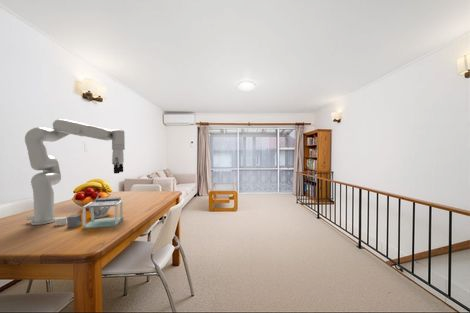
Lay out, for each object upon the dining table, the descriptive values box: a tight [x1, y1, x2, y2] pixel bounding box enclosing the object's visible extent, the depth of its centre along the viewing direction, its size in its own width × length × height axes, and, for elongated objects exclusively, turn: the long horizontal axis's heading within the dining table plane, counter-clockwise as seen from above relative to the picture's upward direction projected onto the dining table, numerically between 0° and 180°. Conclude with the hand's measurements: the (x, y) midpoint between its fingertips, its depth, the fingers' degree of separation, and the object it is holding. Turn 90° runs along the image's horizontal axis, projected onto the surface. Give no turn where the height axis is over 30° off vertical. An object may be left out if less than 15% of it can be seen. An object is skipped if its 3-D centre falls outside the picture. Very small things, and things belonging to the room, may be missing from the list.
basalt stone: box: [66, 213, 82, 228], centre depth 123 cm, size 5×5×6 cm
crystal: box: [88, 195, 112, 219], centre depth 143 cm, size 10×13×15 cm
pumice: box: [54, 216, 68, 227], centre depth 126 cm, size 5×4×4 cm
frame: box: [81, 199, 124, 230], centre depth 127 cm, size 18×15×12 cm
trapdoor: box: [87, 196, 121, 209], centre depth 130 cm, size 15×17×4 cm
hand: (118, 172), depth 140 cm, fingers open, 9 cm apart
